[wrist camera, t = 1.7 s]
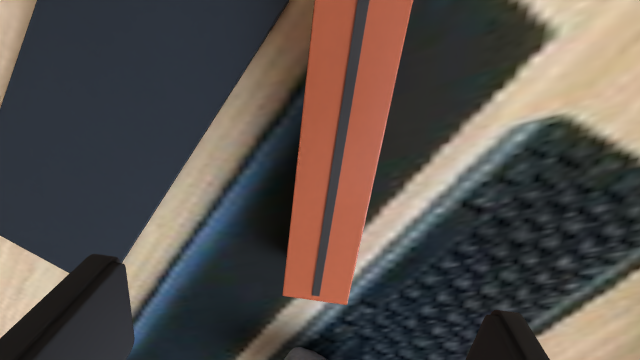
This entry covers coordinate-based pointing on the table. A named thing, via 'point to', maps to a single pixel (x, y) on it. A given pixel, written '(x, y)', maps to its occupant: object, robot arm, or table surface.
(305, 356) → the fossil
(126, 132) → the mat
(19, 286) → the table surface
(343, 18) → the pencil case
